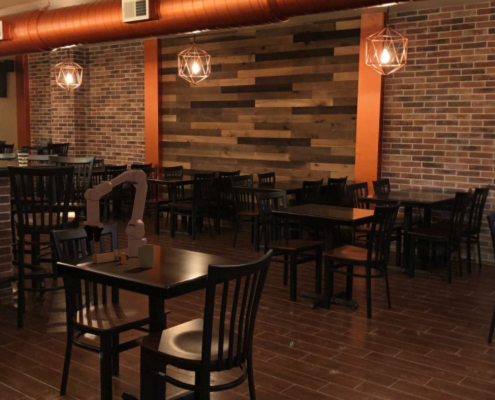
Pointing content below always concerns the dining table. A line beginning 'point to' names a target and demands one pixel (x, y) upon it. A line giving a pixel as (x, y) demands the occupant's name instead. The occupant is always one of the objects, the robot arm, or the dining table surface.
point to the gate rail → (103, 257)
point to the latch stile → (123, 258)
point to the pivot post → (116, 254)
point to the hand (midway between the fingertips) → (93, 241)
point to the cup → (146, 256)
